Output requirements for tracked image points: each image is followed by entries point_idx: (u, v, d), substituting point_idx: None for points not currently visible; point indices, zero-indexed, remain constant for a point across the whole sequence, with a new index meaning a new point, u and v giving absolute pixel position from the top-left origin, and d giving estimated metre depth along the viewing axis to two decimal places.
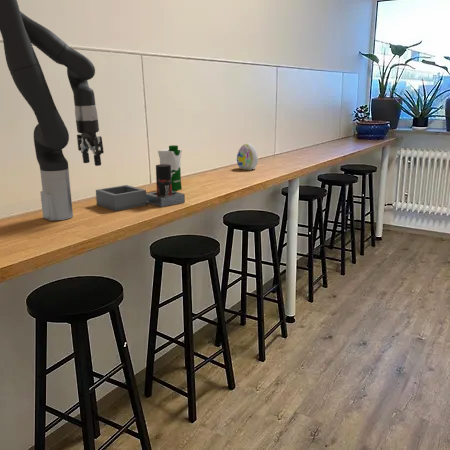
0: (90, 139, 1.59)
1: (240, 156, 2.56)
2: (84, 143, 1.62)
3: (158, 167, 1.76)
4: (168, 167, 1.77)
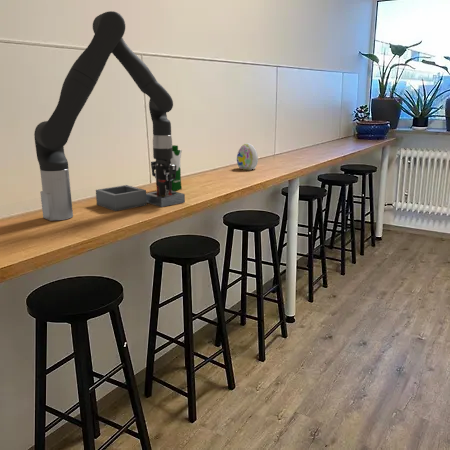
0: (165, 166, 1.75)
1: (240, 156, 2.56)
2: None
3: (158, 167, 1.76)
4: None
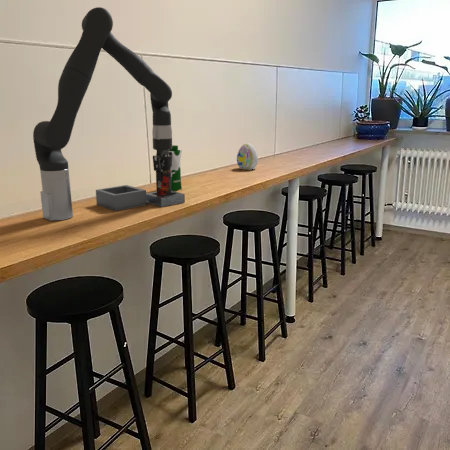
0: None
1: (240, 156, 2.56)
2: None
3: None
4: None
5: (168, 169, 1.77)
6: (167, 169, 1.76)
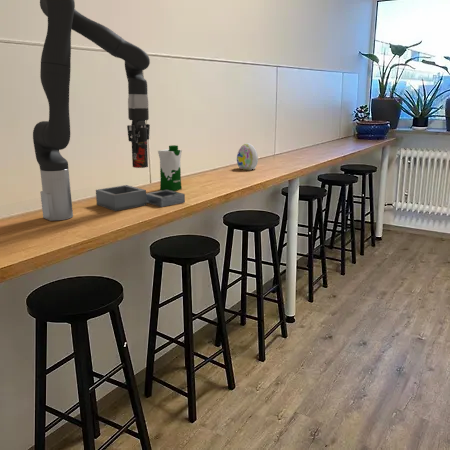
0: None
1: (240, 156, 2.56)
2: None
3: None
4: None
5: (144, 140, 1.71)
6: (143, 140, 1.70)
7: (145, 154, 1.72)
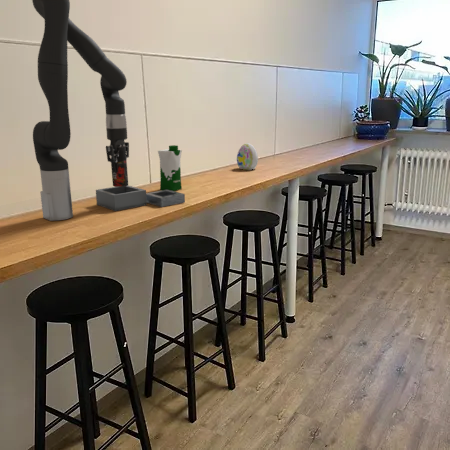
0: None
1: (240, 156, 2.56)
2: None
3: None
4: (114, 149, 1.69)
5: (123, 160, 1.71)
6: (122, 160, 1.71)
7: (125, 173, 1.73)
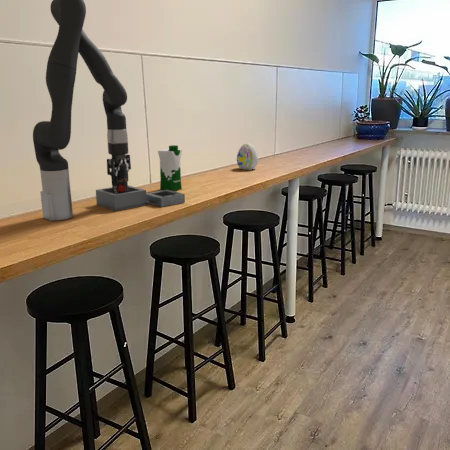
0: None
1: (240, 156, 2.56)
2: None
3: None
4: (115, 167, 1.71)
5: (124, 177, 1.73)
6: (123, 177, 1.73)
7: (125, 190, 1.75)
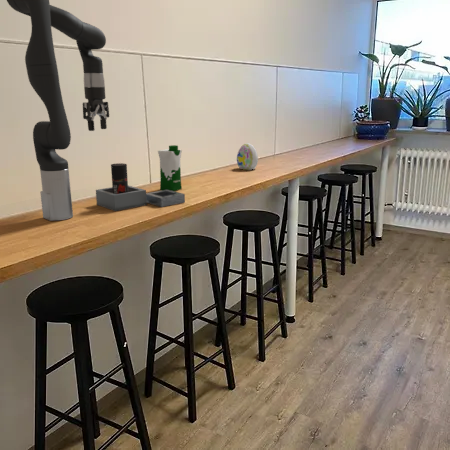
0: None
1: (240, 156, 2.56)
2: None
3: None
4: (116, 167, 1.71)
5: (124, 177, 1.73)
6: (123, 177, 1.73)
7: (125, 190, 1.75)
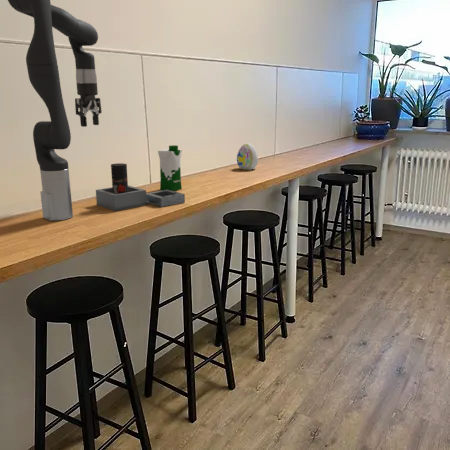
0: None
1: (240, 156, 2.56)
2: None
3: None
4: (116, 167, 1.71)
5: (124, 177, 1.73)
6: (123, 177, 1.73)
7: (125, 191, 1.75)
